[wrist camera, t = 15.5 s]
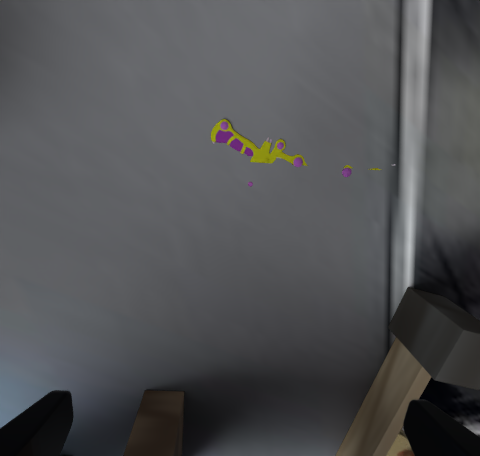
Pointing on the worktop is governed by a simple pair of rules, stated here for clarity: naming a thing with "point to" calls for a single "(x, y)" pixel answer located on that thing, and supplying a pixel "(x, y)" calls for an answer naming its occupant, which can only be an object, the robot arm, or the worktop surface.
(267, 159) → the decorative knife
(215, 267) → the worktop surface
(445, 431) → the robot arm
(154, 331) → the worktop surface
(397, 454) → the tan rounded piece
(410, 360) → the wooden mallet
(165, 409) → the walnut cabinet
